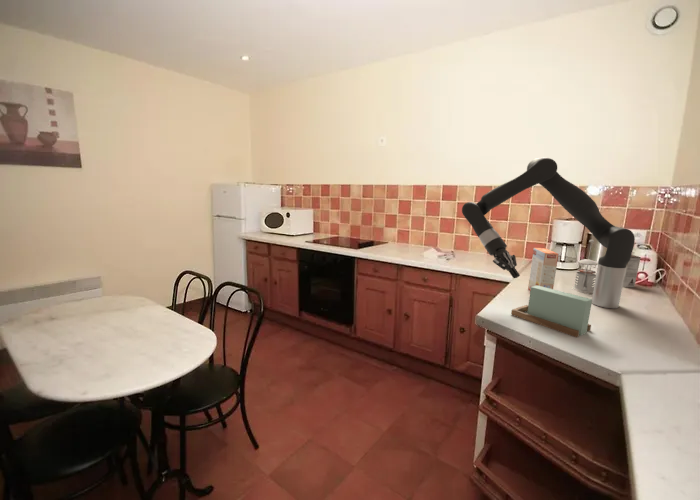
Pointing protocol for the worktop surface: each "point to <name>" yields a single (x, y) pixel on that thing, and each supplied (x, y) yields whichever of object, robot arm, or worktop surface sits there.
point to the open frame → (545, 321)
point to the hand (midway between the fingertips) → (517, 277)
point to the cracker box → (543, 268)
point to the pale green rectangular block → (560, 307)
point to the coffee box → (631, 271)
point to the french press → (585, 276)
